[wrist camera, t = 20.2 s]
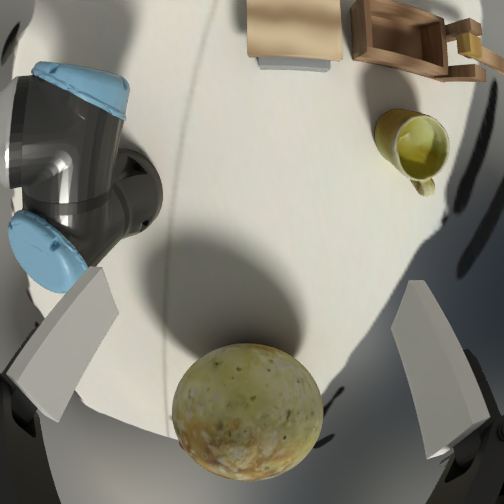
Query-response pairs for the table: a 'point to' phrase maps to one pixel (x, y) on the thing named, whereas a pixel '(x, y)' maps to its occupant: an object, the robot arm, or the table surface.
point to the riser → (293, 64)
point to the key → (478, 51)
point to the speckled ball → (247, 412)
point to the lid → (294, 29)
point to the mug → (413, 146)
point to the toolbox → (409, 40)
